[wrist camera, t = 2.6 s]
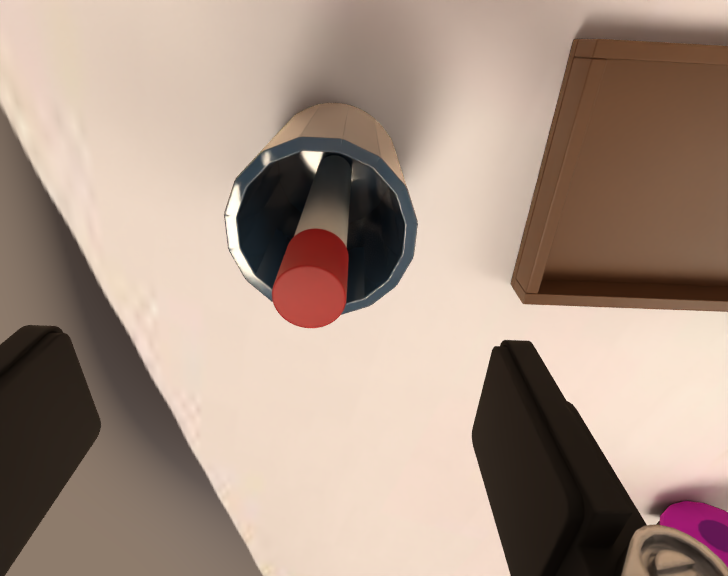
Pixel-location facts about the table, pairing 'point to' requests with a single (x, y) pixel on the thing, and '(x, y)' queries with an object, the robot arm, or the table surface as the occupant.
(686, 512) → the headphones
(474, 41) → the table surface
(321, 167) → the marker
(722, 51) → the tray
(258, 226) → the pen cup
